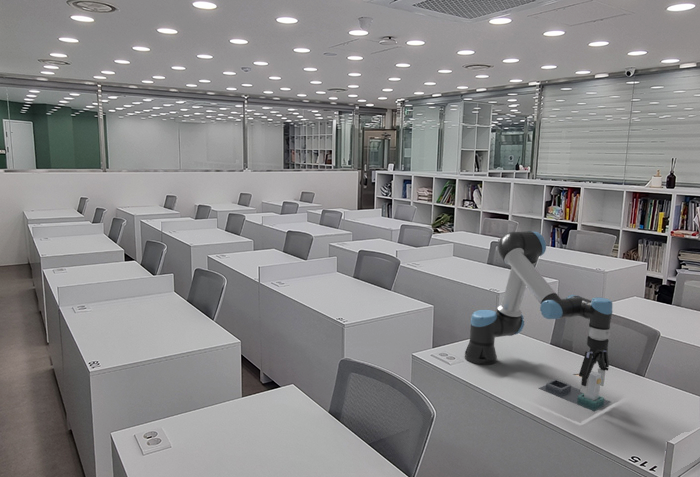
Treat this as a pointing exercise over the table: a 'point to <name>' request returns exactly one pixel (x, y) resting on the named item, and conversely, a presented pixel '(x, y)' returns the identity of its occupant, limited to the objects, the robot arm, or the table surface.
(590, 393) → the plug
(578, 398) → the panel
